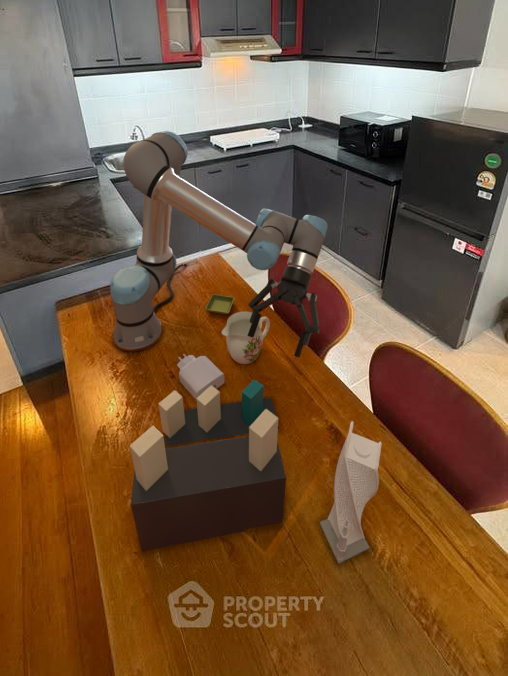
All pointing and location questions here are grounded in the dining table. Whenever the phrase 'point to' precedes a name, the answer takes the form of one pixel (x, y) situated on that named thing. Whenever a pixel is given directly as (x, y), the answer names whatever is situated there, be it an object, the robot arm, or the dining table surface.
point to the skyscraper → (352, 495)
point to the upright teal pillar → (252, 402)
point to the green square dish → (219, 304)
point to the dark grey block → (203, 418)
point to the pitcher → (244, 337)
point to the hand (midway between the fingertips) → (272, 346)
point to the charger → (199, 374)
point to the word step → (207, 486)
